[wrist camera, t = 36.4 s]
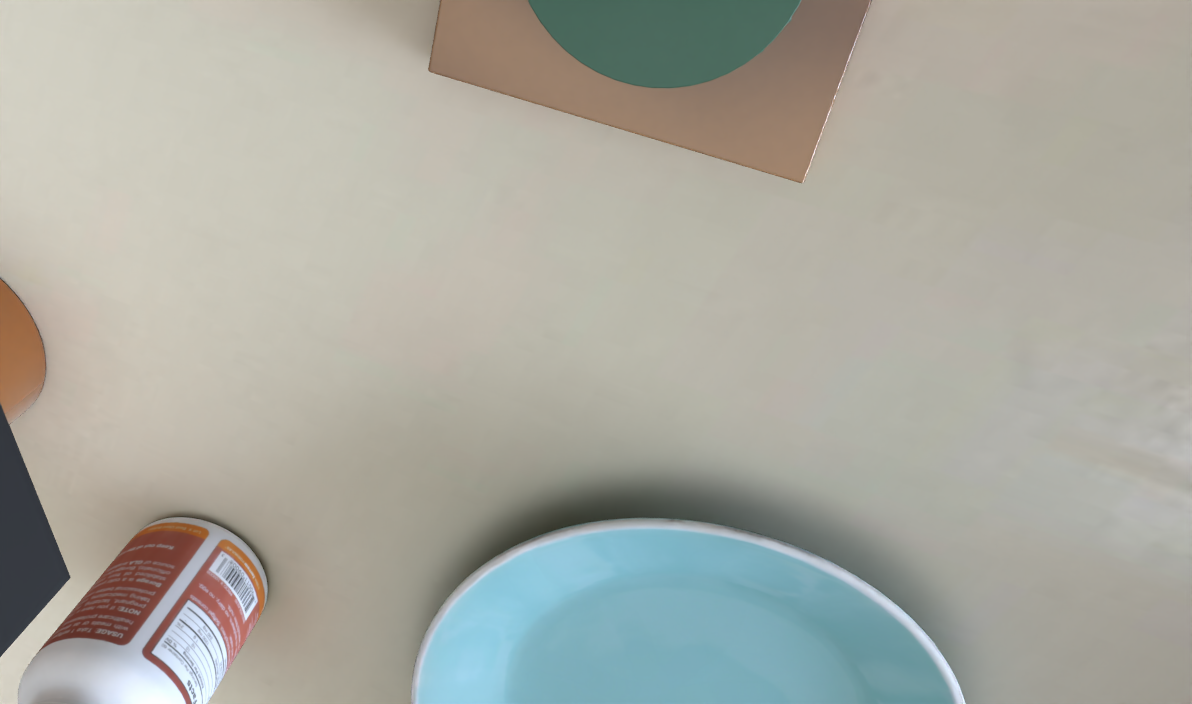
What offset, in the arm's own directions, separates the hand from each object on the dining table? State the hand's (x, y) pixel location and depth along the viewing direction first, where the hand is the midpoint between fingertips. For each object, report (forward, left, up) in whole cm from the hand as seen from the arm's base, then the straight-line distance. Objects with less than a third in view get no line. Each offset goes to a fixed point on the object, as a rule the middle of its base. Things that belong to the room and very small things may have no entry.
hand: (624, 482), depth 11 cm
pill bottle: (+28, -14, -25) cm, 40 cm away
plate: (+27, +7, -25) cm, 37 cm away
